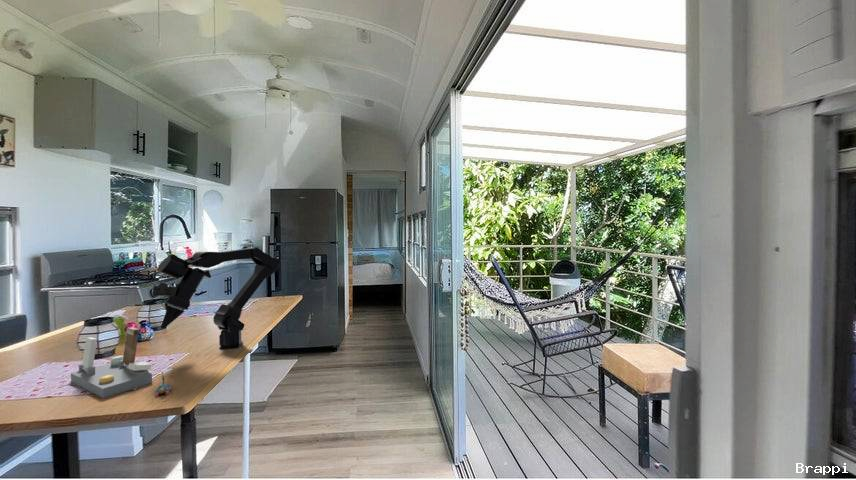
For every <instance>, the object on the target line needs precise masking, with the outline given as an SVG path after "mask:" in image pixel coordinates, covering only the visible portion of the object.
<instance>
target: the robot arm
mask: <svg viewBox="0 0 856 480" xmlns="http://www.w3.org/2000/svg"><path fill="white" fill-rule="evenodd" d="M245 259H250V260H252V262H253V263H254V264H255V266H254V268H253V269H254V270H253V273H252V275H251V276H250V277H249V279H248V280H247V281H246V282H245V284H244V285H243V286H242V288H241V289H240V290H239V291H238V293H237V294H236V295H235V297H234V298H232V300H231V301H230V302H229V303H228V304H221V305H220V306H219V307H218V309H217V310H216V311H215V312H214V316H213V319H212V320H213V324H215V326H217V328H218V330H220V334H219V335H218V338H219V343H218V344H219V348H218V349H219V350H222V349H223V350H224V349H236V348H239V347H240V346H242V344H243V342H244V341H243V340H242V331H243V330H244V328H245V323H243V322H242V321H241V320H240V318H241V316H242V310H243V308H244V307H245V306H246V304H247V303H248V301H249V300H250V299H252V297H253V295H254V294H255V293H256V291H257V290H258V288H259V287H260V286H261V285H262V283H263V282H264V281H265V279H268V278H269V277H270V276H272V275H273V274H274V273H275V272H276V271H278V269H279V267H280V264H279V260H278V259H277V258H276V257H272V256H271V255H269V254H267V253H266V252H265V251H262V250H261V249H260V248H259V247H257V246H256V247H255V246H253V247H252V246H249V247H247V248H240V249H238V248H237V249H233V250H224V251H195V252H194V253H193V254H192V256H190V257H188V258H186V259H182V258H180V257H179V256H178V255H176V254H174V253H169V254H168V255H167V257H165V258H164V259H163V260H162V261H160V263H159V264H158V266H157V270H156V271H157V272H158V273H160V274H163V275H165V276H168V277H170V278H172V279H176V280H177V279H179V278H180V280H179V282H178V283H176V285H175V286H168V285H167V283H165V282H160V283H159V284H158V285H153V286H152V291H151V292H152V293H151V297H167V299H166V300H165V302H164V303H163V306H164V309H165V313H164V317H163V319H162V322H161V325H160V328H161V329H165V328H166V327H168V326H169V325H171V324H172V323H173V322H174V321H175V320H176V319H178V318H179V317H181V315H182V314H184V313H185V311H187V310H188V309H189V307H190V306H191V303H190V302H191V300H192V298H193V296H194V294H195V293H196V292H197V290H198V288H199V285H200V284H201V282H202V281H203V279H204V278H207V279H210V278H212V274H211V273H210V270H208V269H210V268H212V267H215V266H218V265H220V264H223V263H225V262H231V261H232V262H233V261H238V260H245ZM192 267H194V268H192ZM201 268H203V269H204V268H205V270H203V269H201Z"/></svg>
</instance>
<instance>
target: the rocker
mask: <svg viewBox="0 0 856 480" xmlns="http://www.w3.org/2000/svg"><path fill="white" fill-rule="evenodd" d="M128 368H129V369H131V370H134V371H137V370H148V371H150V370H152V363H148V362H146V361H143V362H141V361H140V362H134V363H129V366H128Z"/></svg>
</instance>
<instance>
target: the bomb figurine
mask: <svg viewBox="0 0 856 480" xmlns="http://www.w3.org/2000/svg"><path fill="white" fill-rule="evenodd" d="M160 379H161V381H162V384H160V385H159V386H158V387H157V388H156V390H155V394H154V396H153V397H154V398H159V397H160V396H161V395H163V394H164V396H169V395H171V394H170V392H171V390H172V387H171V386H170V384H169V385H168V384H167V383H165V376H164V375H163V374H162V375H161V378H160Z"/></svg>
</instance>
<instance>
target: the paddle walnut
mask: <svg viewBox="0 0 856 480" xmlns="http://www.w3.org/2000/svg"><path fill="white" fill-rule="evenodd" d="M139 332H140V329H139V328H136V327H134V326H133V327H127V328H126V335H125V343H124V349H123V351H124V352H123V362H125V364H127V365H129V363H136V362H135V360H136V356H137V355H136V354H137V346H138V341H139V340H138V339H139V334H140V333H139Z"/></svg>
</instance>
